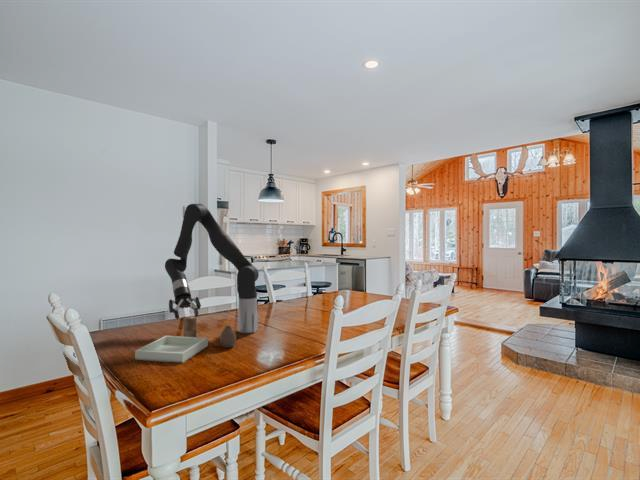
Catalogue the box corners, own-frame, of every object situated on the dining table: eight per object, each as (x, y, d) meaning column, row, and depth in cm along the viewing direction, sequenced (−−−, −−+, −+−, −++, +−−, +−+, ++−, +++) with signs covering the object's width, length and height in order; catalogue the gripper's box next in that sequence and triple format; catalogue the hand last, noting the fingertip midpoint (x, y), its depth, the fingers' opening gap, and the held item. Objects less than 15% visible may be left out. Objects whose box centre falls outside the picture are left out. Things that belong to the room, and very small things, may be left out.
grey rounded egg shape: (239, 344, 148) (239, 325, 148) (230, 349, 142) (230, 329, 142) (226, 343, 151) (226, 323, 151) (216, 347, 144) (216, 327, 144)
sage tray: (207, 345, 147) (207, 337, 146) (182, 362, 127) (182, 353, 127) (165, 343, 149) (165, 335, 149) (135, 359, 130) (135, 350, 130)
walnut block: (193, 336, 160) (193, 315, 159) (196, 339, 156) (196, 317, 156) (183, 338, 157) (183, 316, 157) (186, 341, 153) (186, 318, 153)
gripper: (167, 286, 162) (173, 314, 153) (197, 284, 171) (204, 311, 162) (165, 296, 166) (170, 323, 157) (194, 293, 175) (200, 319, 166)
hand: (187, 317), depth 159 cm, fingers open, 8 cm apart
